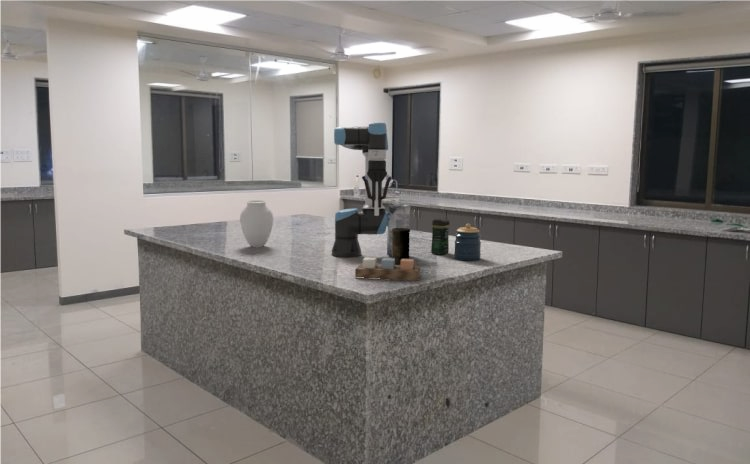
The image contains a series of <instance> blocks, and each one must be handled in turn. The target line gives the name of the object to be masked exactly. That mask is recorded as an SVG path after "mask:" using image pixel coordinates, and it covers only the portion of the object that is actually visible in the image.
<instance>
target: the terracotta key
mask: <svg viewBox="0 0 750 464" xmlns="http://www.w3.org/2000/svg"><path fill="white" fill-rule="evenodd" d="M414 262H415V260H414V258H409V259H401V266H400V269H402V270H414V266H415V265H414V264H415V263H414Z"/></svg>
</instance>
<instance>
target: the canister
mask: <svg viewBox="0 0 750 464" xmlns="http://www.w3.org/2000/svg"><path fill="white" fill-rule="evenodd" d="M454 237H455V240H454V255H453V256H454V259H456V260H459V261H463V262H472V261H474V262H475V261H479V260H480V259H481V257H482V256H481V255H482V254H481V251H482V250H481V246H482V242H481V237H482V235H481V233H480V230H479V229H478V228H477V227H473V226H472V225H471V223H466V224H465V226H463V227H462V226H460V227H458V228H457V229H456V233H455V234H454Z"/></svg>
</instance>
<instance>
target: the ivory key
mask: <svg viewBox="0 0 750 464" xmlns="http://www.w3.org/2000/svg"><path fill="white" fill-rule="evenodd" d="M362 264H363V268H376V264H377V257H366V256H365V257H364V258H362Z"/></svg>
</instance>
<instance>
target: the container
mask: <svg viewBox="0 0 750 464" xmlns="http://www.w3.org/2000/svg"><path fill="white" fill-rule="evenodd" d="M392 232H393V233H392V234H393V237H392V256H391V258H395V265H401V259H410V234H411V233H410V232H411V228H409V229H408V228H393V229H392Z"/></svg>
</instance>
